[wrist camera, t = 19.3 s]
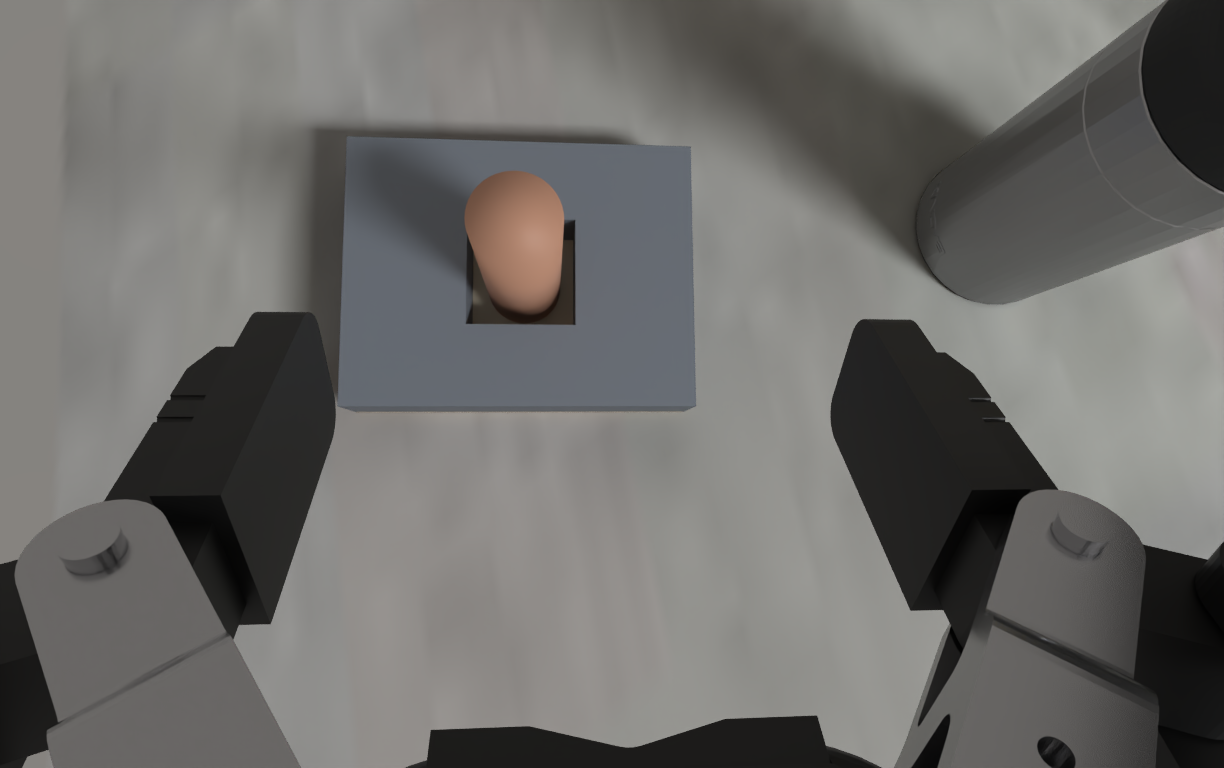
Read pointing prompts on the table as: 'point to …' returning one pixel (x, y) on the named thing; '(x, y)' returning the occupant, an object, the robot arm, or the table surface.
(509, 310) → the peg
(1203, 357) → the table surface
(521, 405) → the socket block
